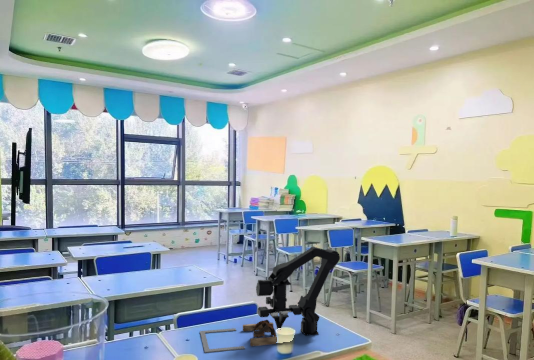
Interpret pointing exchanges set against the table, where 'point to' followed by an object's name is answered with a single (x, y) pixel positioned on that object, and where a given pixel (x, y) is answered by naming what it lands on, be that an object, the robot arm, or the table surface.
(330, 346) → the table surface
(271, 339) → the holder
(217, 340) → the table surface
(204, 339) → the bay
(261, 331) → the brown curved piece
